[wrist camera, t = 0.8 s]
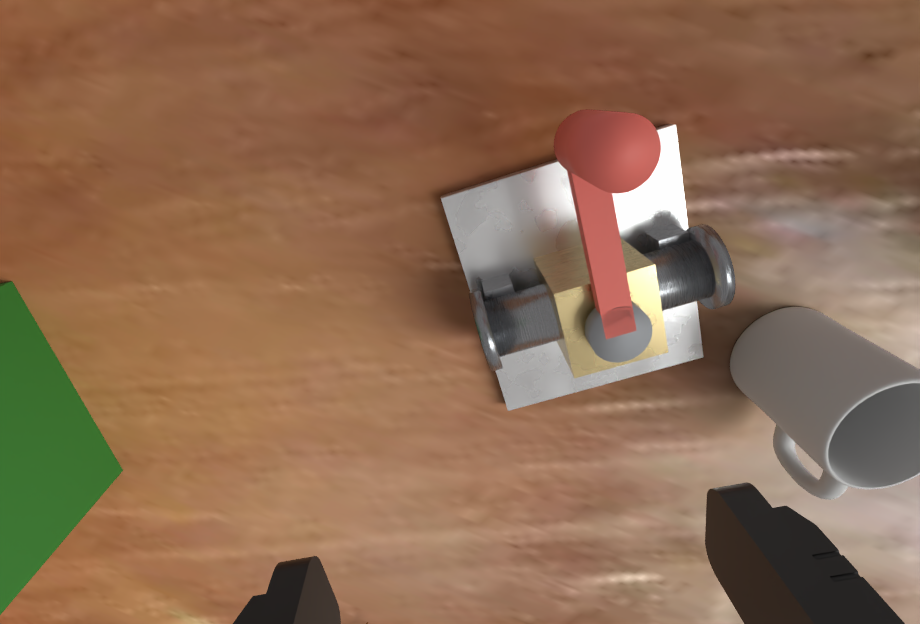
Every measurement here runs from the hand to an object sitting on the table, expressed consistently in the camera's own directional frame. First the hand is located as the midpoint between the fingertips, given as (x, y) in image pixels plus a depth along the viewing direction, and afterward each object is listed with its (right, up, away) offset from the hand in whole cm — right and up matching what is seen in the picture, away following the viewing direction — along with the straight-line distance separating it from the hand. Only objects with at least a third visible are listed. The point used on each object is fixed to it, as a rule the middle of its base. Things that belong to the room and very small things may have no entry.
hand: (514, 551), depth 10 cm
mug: (+25, 0, +31) cm, 40 cm away
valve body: (+8, +7, +27) cm, 29 cm away
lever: (+7, +9, +17) cm, 21 cm away
